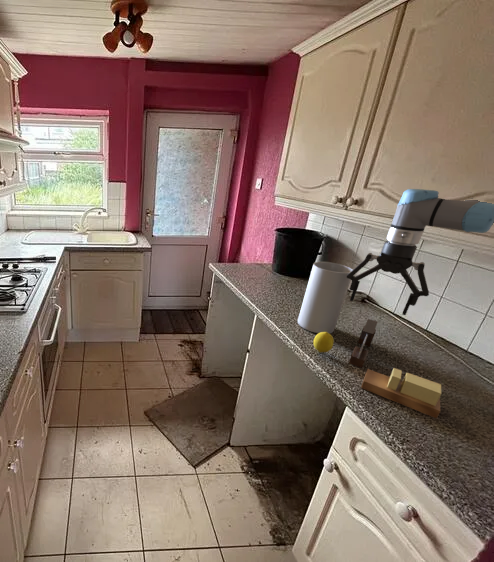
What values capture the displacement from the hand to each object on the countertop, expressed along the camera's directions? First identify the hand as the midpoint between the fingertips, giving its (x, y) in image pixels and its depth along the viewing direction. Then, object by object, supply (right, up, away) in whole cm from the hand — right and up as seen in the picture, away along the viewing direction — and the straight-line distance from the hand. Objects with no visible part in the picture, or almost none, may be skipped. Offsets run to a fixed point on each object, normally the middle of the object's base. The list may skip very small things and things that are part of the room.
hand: (376, 306), depth 101 cm
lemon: (-15, -16, +5) cm, 23 cm away
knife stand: (-1, -17, +6) cm, 17 cm away
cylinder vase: (-6, -10, +22) cm, 25 cm away
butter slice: (-7, -21, -13) cm, 26 cm away
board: (-5, -24, -14) cm, 28 cm away
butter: (-3, -23, -17) cm, 28 cm away
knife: (-1, -14, +4) cm, 14 cm away
